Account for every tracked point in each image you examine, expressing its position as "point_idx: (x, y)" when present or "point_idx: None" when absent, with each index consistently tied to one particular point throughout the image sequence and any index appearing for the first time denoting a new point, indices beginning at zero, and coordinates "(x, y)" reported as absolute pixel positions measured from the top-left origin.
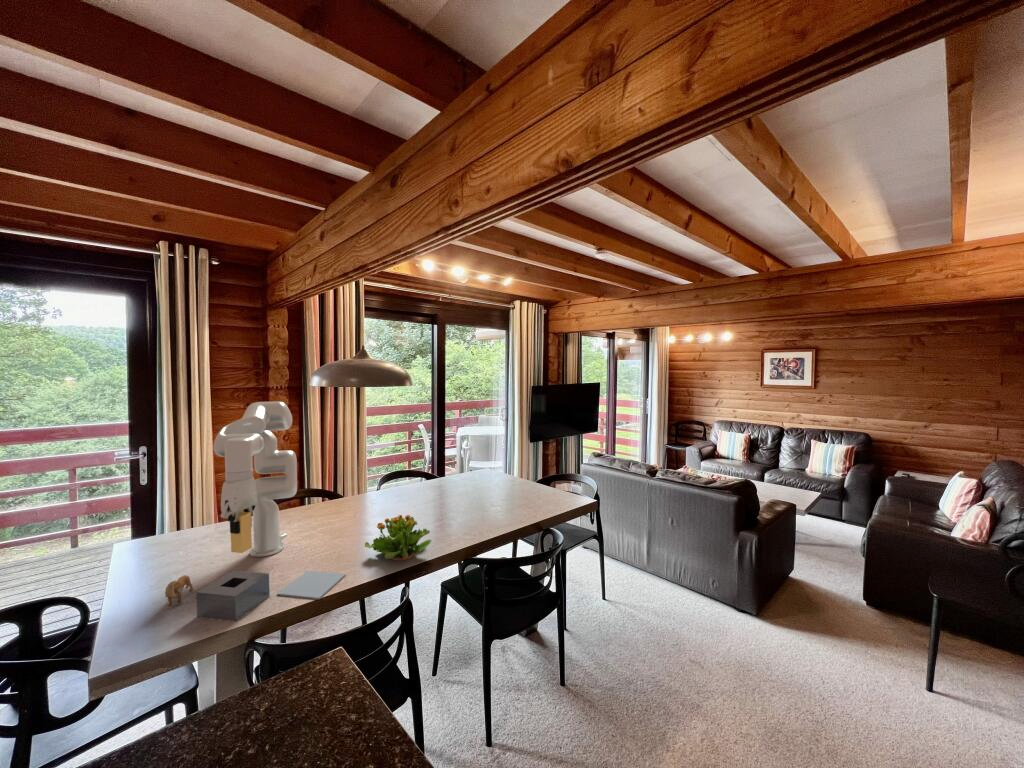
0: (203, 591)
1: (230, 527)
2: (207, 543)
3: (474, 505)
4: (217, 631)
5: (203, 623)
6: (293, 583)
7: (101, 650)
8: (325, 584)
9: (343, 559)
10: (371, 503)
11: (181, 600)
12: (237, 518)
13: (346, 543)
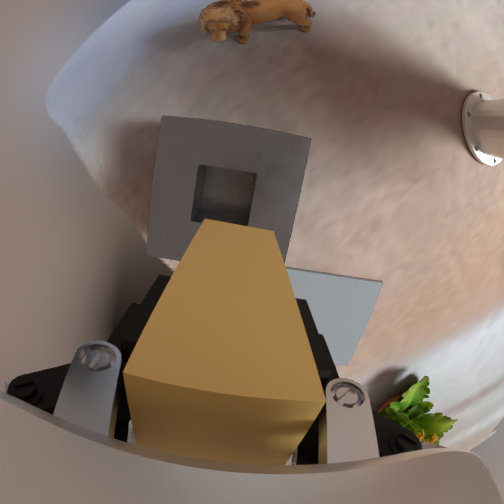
0: (165, 135)
1: (121, 321)
2: (483, 2)
3: (496, 405)
4: (131, 215)
5: None
6: (325, 282)
7: (85, 41)
8: None
9: (418, 327)
10: None
11: (247, 37)
12: (120, 433)
13: (478, 297)
